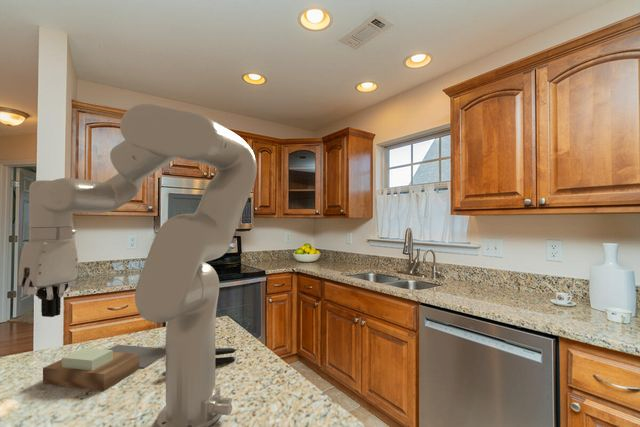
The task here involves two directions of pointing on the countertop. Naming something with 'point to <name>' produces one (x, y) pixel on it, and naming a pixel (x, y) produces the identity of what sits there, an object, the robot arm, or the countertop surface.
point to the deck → (92, 373)
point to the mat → (141, 353)
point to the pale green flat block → (87, 359)
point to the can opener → (224, 359)
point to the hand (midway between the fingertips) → (51, 315)
